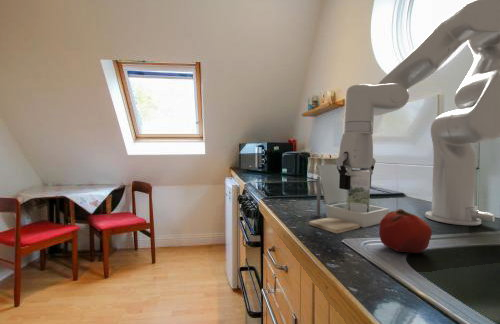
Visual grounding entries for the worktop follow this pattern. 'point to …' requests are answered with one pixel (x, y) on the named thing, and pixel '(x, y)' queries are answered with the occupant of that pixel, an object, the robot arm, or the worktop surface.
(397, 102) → the robot arm
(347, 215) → the case
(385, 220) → the tomato
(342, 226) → the plate
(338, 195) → the lid
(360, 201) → the syrup box
